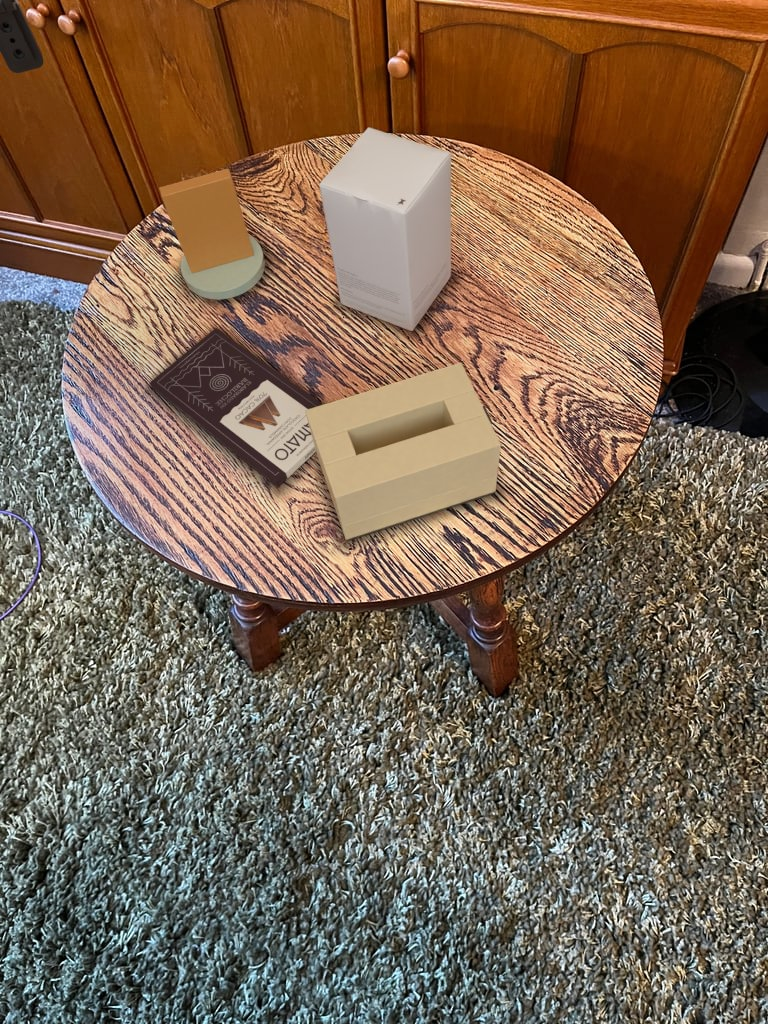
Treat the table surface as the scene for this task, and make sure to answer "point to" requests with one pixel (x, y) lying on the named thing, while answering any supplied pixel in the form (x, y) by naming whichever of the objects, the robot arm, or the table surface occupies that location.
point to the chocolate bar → (242, 405)
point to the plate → (226, 276)
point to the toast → (207, 220)
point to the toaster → (405, 450)
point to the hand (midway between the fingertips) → (22, 31)
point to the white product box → (390, 226)
